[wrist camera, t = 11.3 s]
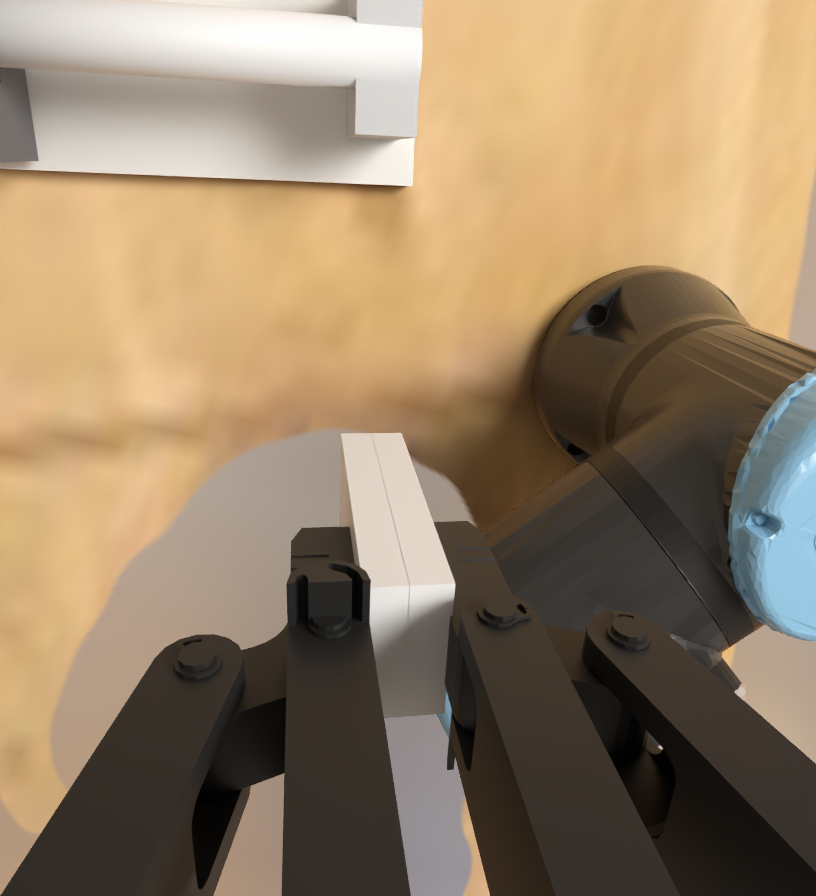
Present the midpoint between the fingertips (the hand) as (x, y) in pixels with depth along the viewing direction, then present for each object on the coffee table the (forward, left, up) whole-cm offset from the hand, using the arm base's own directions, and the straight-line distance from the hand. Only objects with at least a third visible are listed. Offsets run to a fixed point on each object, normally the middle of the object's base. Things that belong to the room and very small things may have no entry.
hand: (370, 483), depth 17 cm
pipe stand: (+10, -12, -29) cm, 33 cm away
